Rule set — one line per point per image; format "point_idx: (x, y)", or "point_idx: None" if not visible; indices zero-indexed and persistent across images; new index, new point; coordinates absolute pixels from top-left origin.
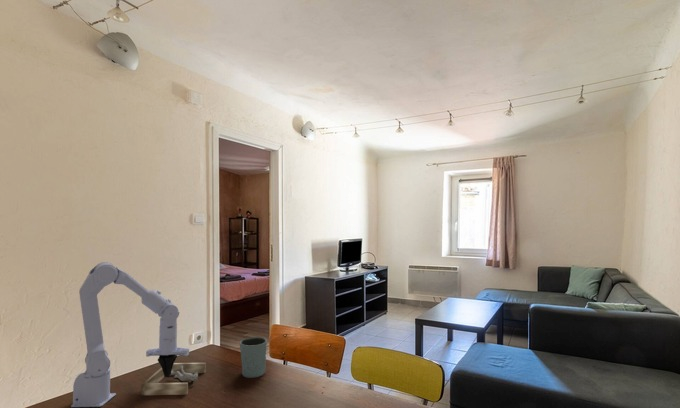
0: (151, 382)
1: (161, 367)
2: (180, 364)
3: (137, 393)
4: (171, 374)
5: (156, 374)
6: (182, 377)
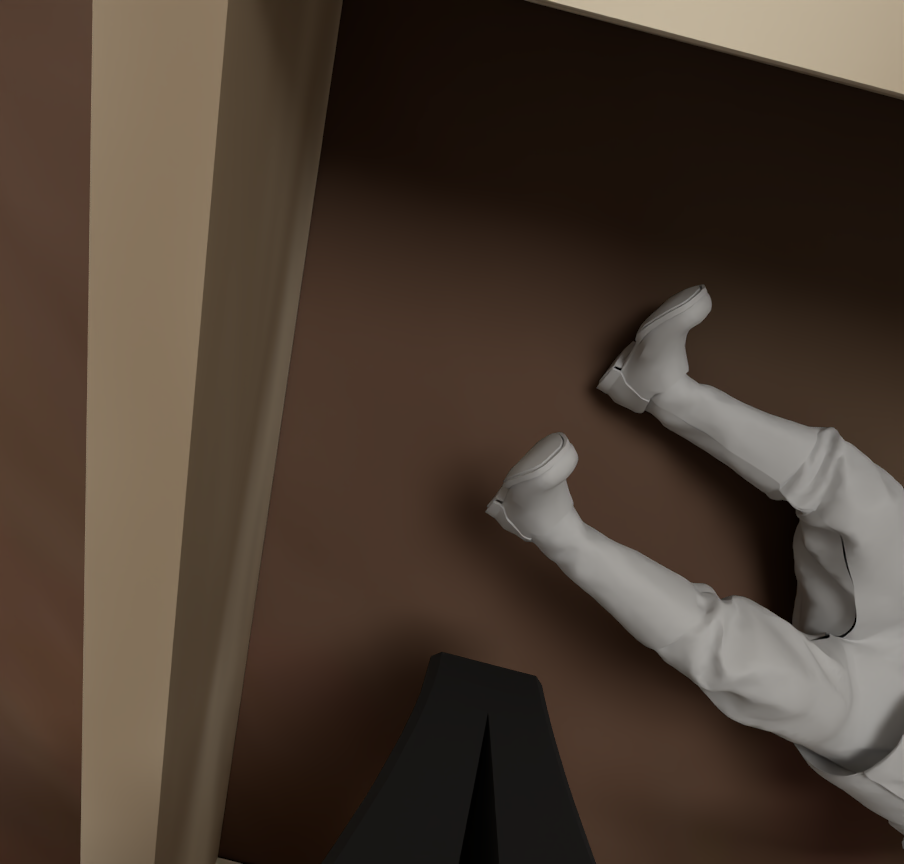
0: (188, 846)
1: (91, 297)
2: (891, 88)
3: (71, 804)
4: (548, 548)
5: (166, 759)
6: (856, 793)
